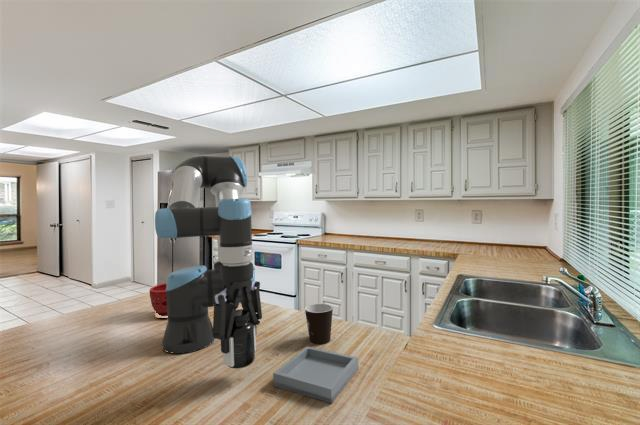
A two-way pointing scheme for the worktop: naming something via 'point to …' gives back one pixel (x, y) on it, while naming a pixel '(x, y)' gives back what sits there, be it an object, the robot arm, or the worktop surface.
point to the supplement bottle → (243, 339)
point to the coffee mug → (319, 323)
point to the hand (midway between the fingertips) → (240, 357)
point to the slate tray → (316, 373)
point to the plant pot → (160, 303)
